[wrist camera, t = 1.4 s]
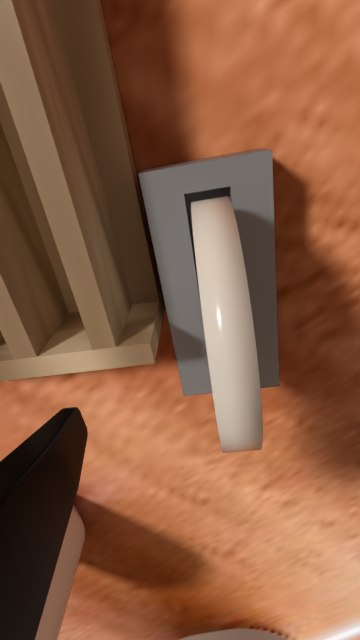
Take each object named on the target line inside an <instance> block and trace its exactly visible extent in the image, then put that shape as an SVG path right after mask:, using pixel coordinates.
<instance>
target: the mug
mask: <svg viewBox="0 0 360 640" xmlns="http://www.w3.org/2000/svg"><path fill="white" fill-rule="evenodd" d="M84 541H85V527H84V524H83V521H82V519H81V517H80V515H79V513H78V511H77V509H76V508H75V506H74V505H73V509H72V512H71V516H70V519H69V523H68V526H67V530H66V533H65V537H64V540H63V544H62V547H61V551H60V554H59V558H58V561H57V565H56V568H55V572H54V575H53V579H52V582H51V586H50V589H49V593H48V596H47V599H46V603H45V606H44V610H43V613H42V617H41V620H40V624H39V627H38V631H37V634H36V638H35V640H58V636H59V633H60V629H61V625H62V622H63V618H64V614H65V611H66V607H67V603H68V600H69V596H70V592H71V589H72V585H73V582H74V578H75V574H76V571H77V567H78V563H79V560H80V556H81V552H82V549H83V545H84Z"/></svg>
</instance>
